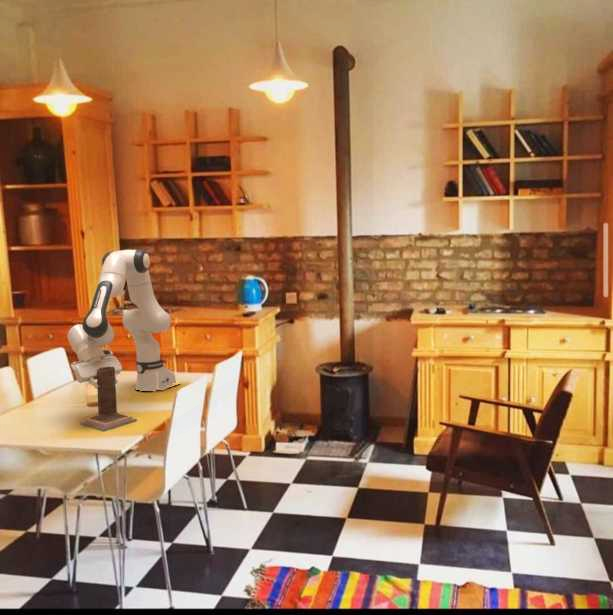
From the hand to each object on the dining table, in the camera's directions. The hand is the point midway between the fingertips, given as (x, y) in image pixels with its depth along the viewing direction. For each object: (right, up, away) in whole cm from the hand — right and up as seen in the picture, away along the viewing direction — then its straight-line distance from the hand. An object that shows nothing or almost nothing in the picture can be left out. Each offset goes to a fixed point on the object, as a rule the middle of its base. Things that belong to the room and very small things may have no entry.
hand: (107, 385), depth 280 cm
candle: (0, -13, +2) cm, 13 cm away
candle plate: (0, -16, +3) cm, 16 cm away
